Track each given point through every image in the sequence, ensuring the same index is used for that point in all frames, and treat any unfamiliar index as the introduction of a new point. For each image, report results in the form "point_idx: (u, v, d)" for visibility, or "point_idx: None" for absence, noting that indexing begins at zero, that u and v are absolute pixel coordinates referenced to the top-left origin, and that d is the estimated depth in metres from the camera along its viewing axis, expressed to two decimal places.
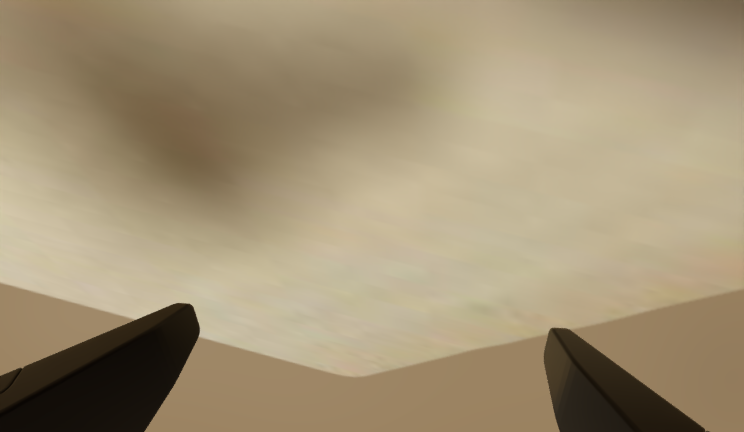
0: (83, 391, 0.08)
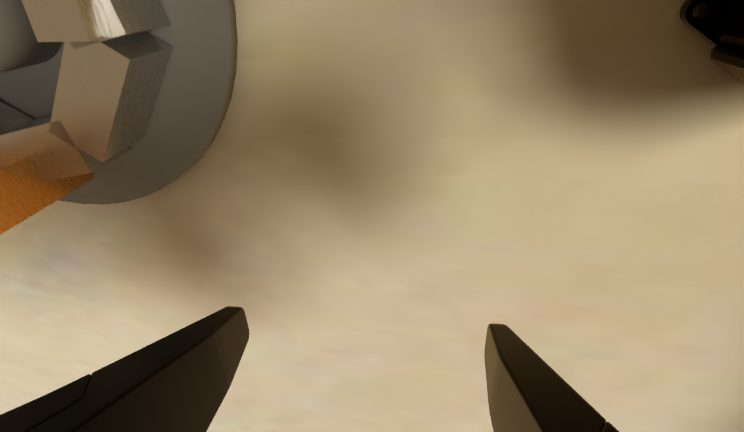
0: (152, 398, 0.08)
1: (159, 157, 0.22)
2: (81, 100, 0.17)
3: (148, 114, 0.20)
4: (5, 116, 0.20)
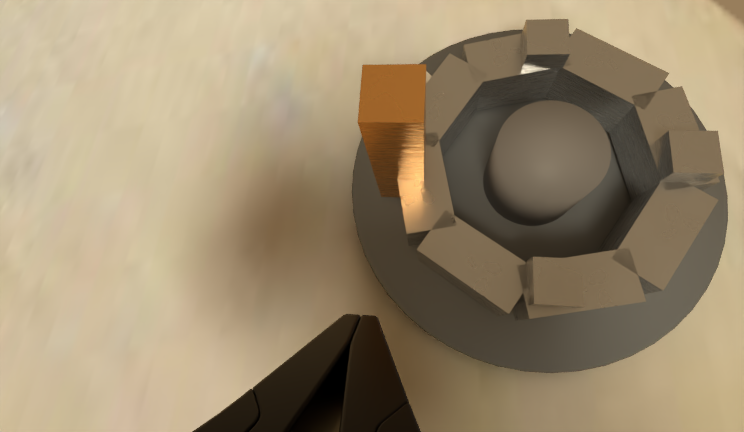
0: (315, 414, 0.07)
1: (397, 265, 0.23)
2: (474, 253, 0.20)
3: (441, 275, 0.22)
4: (445, 147, 0.24)
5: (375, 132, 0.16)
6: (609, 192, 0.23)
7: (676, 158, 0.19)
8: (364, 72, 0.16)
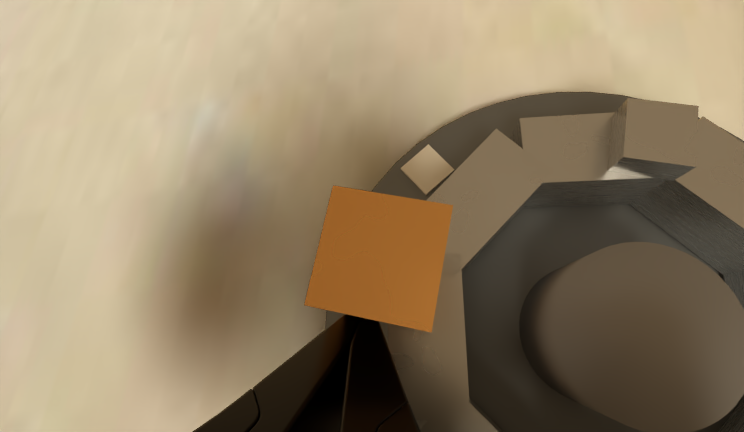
0: (315, 414, 0.07)
1: None
2: None
3: None
4: (470, 262, 0.16)
5: None
6: None
7: None
8: (333, 201, 0.08)
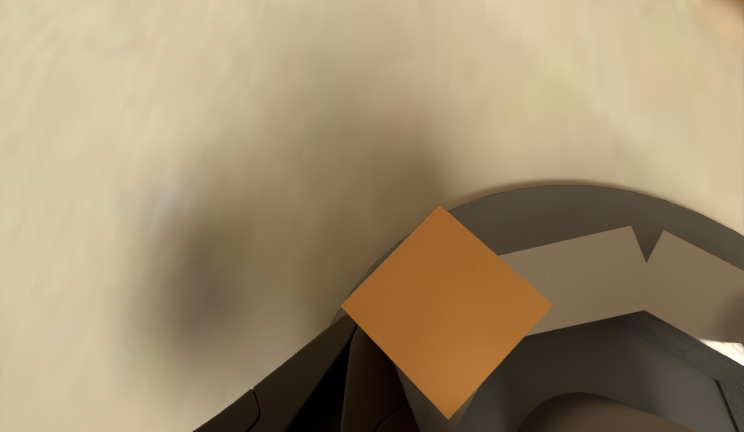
0: (315, 414, 0.07)
1: None
2: None
3: None
4: None
5: None
6: None
7: None
8: (430, 221, 0.07)
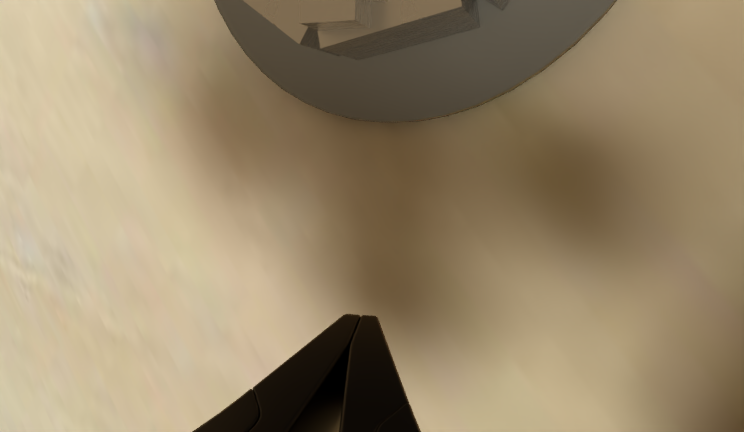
0: (315, 414, 0.07)
1: (336, 83, 0.18)
2: None
3: None
4: None
5: None
6: None
7: None
8: None
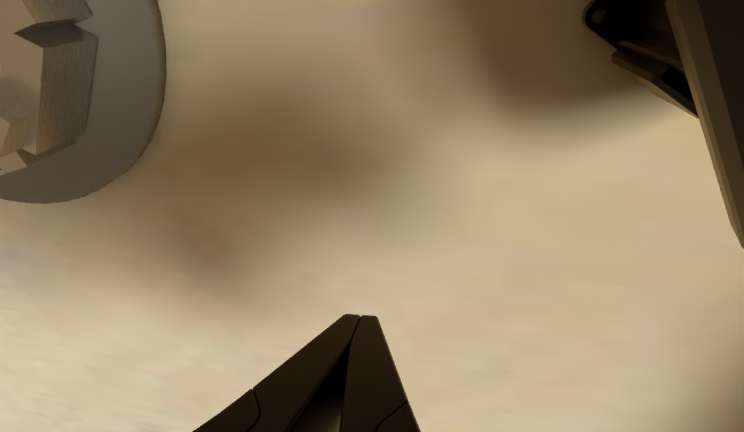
0: (315, 414, 0.07)
1: (97, 157, 0.22)
2: None
3: None
4: None
5: None
6: None
7: None
8: None
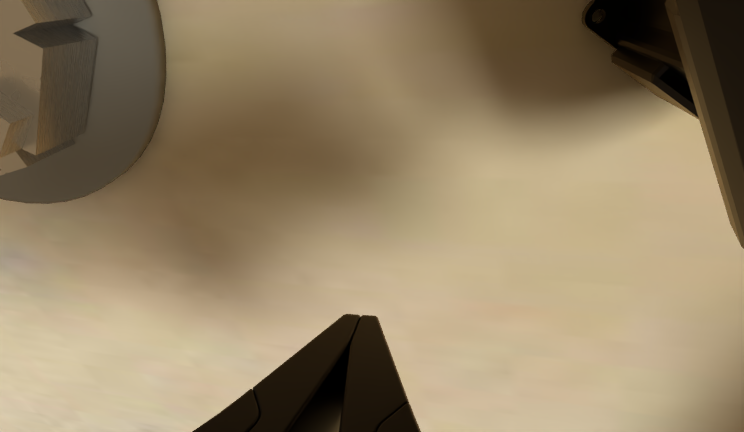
0: (315, 414, 0.07)
1: (96, 158, 0.22)
2: None
3: None
4: None
5: None
6: None
7: None
8: None
